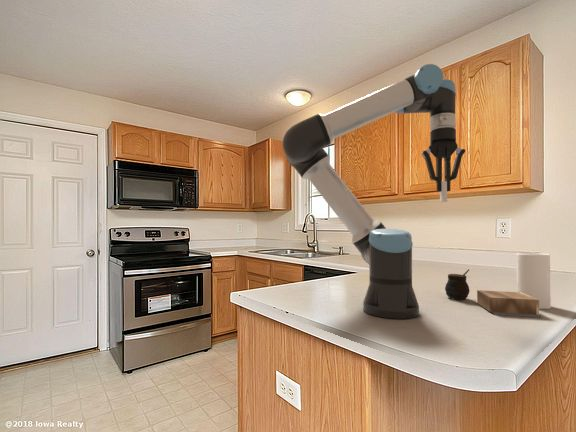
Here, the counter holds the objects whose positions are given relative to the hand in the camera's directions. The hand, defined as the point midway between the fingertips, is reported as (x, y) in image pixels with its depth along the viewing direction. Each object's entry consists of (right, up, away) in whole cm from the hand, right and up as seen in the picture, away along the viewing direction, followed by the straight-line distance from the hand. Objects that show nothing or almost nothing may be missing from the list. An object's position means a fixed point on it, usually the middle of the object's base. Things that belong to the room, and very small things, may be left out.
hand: (443, 201), depth 103 cm
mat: (+14, -32, -10) cm, 36 cm away
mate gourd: (+7, -33, +4) cm, 34 cm away
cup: (+26, -33, -5) cm, 42 cm away
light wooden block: (+8, -30, -9) cm, 32 cm away
